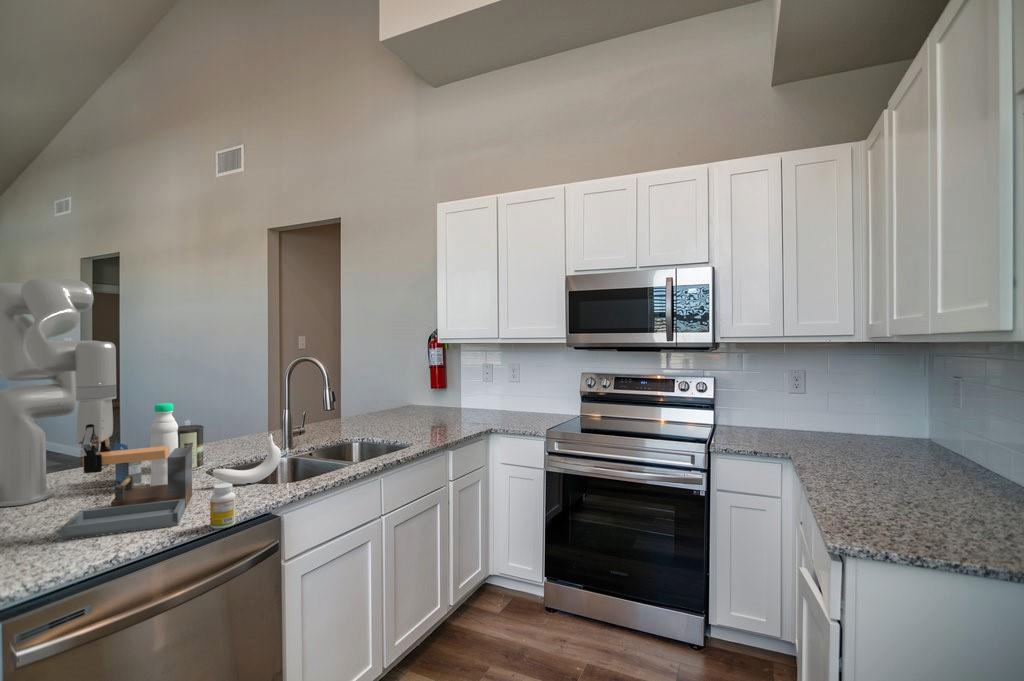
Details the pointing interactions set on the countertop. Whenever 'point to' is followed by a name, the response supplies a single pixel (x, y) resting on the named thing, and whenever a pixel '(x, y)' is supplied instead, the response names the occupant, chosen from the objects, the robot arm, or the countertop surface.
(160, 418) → the water bottle
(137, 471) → the label tape cartridge
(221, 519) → the supplement bottle
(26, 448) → the robot arm
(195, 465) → the coffee can
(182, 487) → the dispenser
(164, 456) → the orange rectangular block
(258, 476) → the banana
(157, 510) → the tray
